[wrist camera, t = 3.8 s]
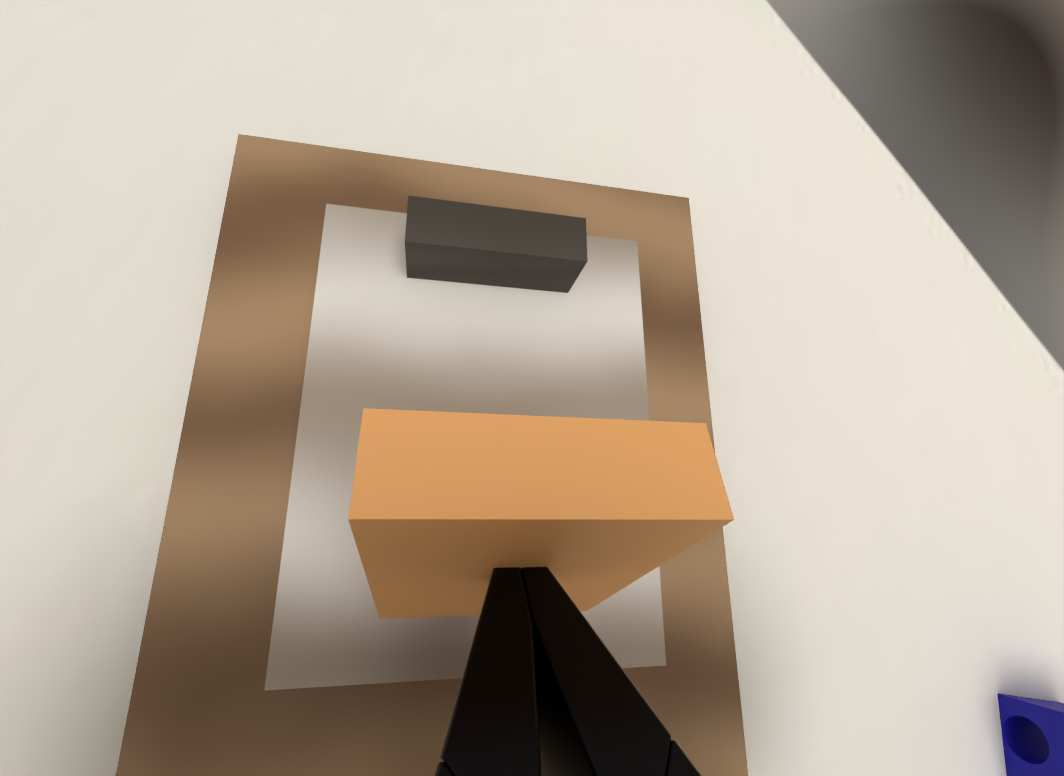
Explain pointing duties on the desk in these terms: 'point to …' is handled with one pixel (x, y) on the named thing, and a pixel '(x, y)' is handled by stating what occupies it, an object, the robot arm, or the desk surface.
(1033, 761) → the cable clip
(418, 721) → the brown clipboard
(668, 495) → the orange wedge plank
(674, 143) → the desk surface
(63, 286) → the desk surface
